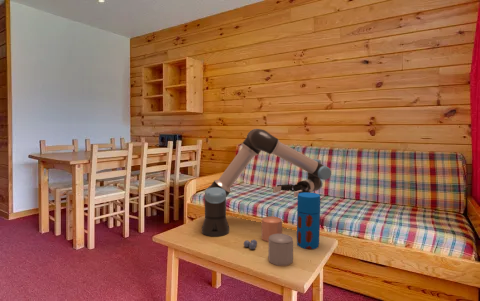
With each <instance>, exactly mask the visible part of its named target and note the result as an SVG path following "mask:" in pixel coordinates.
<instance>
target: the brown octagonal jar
mask: <svg viewBox="0 0 480 301" xmlns="http://www.w3.org/2000/svg"><path fill="white" fill-rule="evenodd" d="M267 252H268V257H267V258H268V262H269V263H271V264H273V265H275V266H278V267H280V266H281V267H282V266H283V267H285V266H289V265H291V264H292V263H293V262H294V240H293V236H291V235H289V234H286V233H282V234H273V235H270V236H269V242H268V251H267Z"/></svg>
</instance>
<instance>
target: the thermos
mask: <svg viewBox="0 0 480 301" xmlns="http://www.w3.org/2000/svg"><path fill="white" fill-rule="evenodd" d="M296 202H297V208H296V209H297V212H296V213H297V214H296V244H297V247H299V248H302V249H305V250H315V249H318V248H319V245H320V231H321V230H320V229H321V228H320V224H321V220H320V219H321V195H320V194H318V193H315V192H310V193H309V192H304V193H299V194H298V197H297V201H296Z"/></svg>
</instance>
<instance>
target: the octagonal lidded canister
mask: <svg viewBox="0 0 480 301" xmlns="http://www.w3.org/2000/svg"><path fill="white" fill-rule="evenodd" d="M273 234H283V222H282V219H281V218H280V217H279V216H271V215H270V216H264V217H262V219H261V240H262V241H265V242H267V243H269V236H270V235H273Z"/></svg>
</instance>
